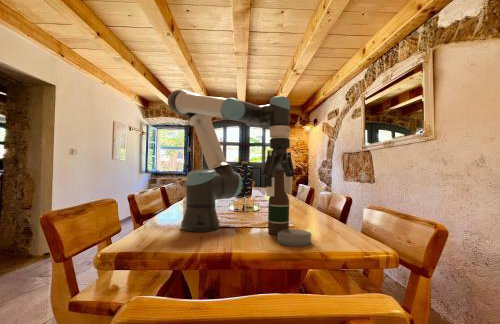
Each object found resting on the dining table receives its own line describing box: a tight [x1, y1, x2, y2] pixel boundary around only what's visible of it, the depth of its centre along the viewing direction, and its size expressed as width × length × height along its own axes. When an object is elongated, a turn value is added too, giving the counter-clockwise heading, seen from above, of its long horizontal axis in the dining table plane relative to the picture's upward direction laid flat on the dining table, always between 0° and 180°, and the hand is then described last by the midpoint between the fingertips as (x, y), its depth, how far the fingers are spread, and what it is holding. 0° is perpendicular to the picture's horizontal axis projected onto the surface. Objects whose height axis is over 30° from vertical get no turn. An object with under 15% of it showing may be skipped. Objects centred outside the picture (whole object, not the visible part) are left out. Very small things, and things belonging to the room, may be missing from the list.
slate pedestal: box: [277, 228, 312, 248], centre depth 91 cm, size 11×11×3 cm
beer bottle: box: [267, 168, 290, 237], centre depth 103 cm, size 8×8×24 cm
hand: (279, 194), depth 103 cm, fingers open, 13 cm apart
